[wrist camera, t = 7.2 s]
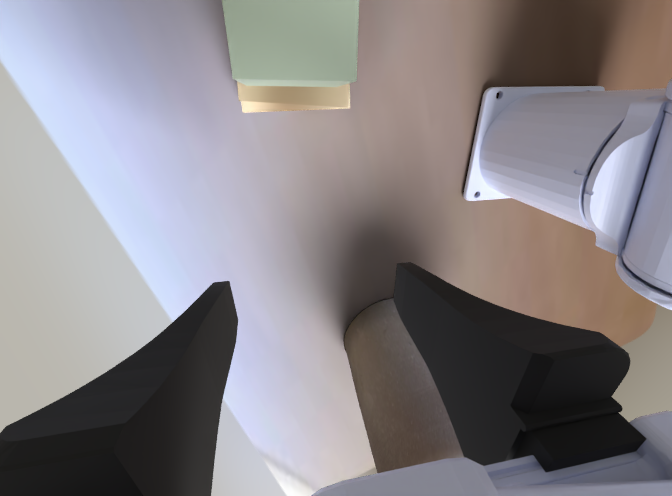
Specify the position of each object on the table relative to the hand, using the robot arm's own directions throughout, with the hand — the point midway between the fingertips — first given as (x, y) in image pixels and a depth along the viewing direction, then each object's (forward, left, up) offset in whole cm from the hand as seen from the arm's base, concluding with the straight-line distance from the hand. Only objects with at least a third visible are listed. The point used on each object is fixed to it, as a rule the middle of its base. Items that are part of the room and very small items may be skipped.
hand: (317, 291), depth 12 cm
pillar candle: (-8, +14, -11) cm, 19 cm away
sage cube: (0, -10, -5) cm, 11 cm away
